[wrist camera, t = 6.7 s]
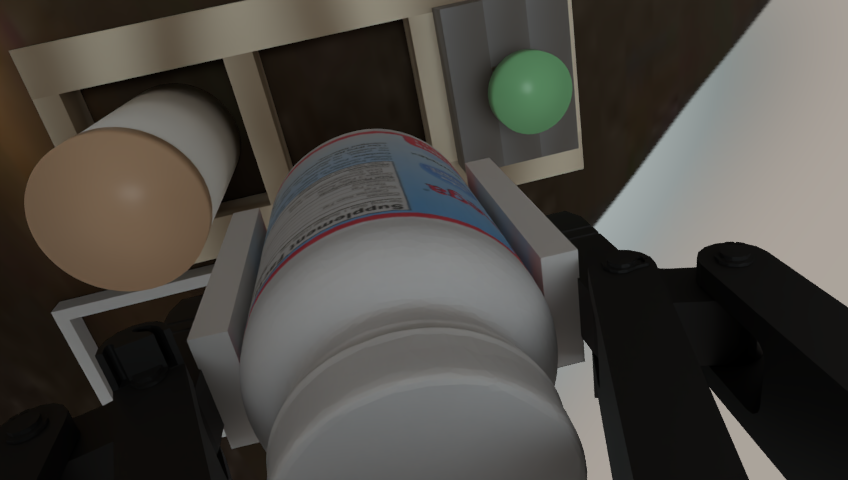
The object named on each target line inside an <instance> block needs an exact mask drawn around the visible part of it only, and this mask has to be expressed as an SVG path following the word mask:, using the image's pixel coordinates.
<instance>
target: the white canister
mask: <svg viewBox="0 0 848 480" xmlns="http://www.w3.org/2000/svg"><path fill="white" fill-rule="evenodd" d="M240 152H241V139H240V133H239V130H238V127H237V124H236V122H235V120H234V118H233V116H232V115H231V113H230V112H229V111H228V109H227V108H226V107H225V106H224V105H223V104H222V103H221V102H220V101H219V100H218V99H217V98H215V97H214V96H213V95H211V94H209V93H208V92H206V91H204V90H202V89H200V88H197V87H194V86H191V85H186V84H178V83H168V84H162V85H158V86H154V87H152V88H149V89H147V90H145V91H144V92H142V93H141V94H139V95H138V96H136V97H135V98H133V99H131V100H130V101H128V102H127V103H125V104H124V105H122V106H121V107H119V108H118V109H116V110H115V111H113V112H112V113H110V114H108V115H107V116H105V117H104V118H102V119H101V120H99V121H98V122H96V123H95V124H93V125H92V126H90V127H89V128H87V129H85V130H84V131H82V132H81V133H79V134H77V135H75V136H72V137H70V138H69V139H67V140H66V141H64V142H63V143H61V144H60V145H58V146H56V147H55V148H53V149H52V150H50V151H49V152H48V153H47V154H46V155H45V156H44V157H42V159H41V160H40V161H39V162H38V163H37V165H36V166H35V168H34V169H33V171H32V173H31V175H30V177H29V180H28V182H27V185H26V190H25V197H24V208H25V215H26V219H27V223H28V226H29V229H30V231H31V233H32V235H33V237H34V239H35V241H36V242H37V244H38V245H39V247H40V248H41V250H42V251H43V252H44V253H45V254H46V256H47V257H48V258H49V259H50V260H51V261H52V262H53V263H54V264H56V265H57V266H58V267H59V268H61V269H62V270H63V271H65V272H66V273H68V274H70V275H71V276H73V277H74V278H76V279H79V280H81V281H83V282H85V283H87V284H90V285H93V286H96V287H100V288H104V289H108V290H115V291H142V290H148V289H153V288H156V287H159V286H162V285H165V284H167V283H169V282H171V281H173V280H175V279H176V278H178V277H180V276H181V275H182V274H183V273H185V272H186V271H187V270H188V269H189V268H190V267H191V266H192V265H193V264H194V263H195V261H196V260H197V258H198V257H199V255H200V254H201V252H202V249H203V247H204V245H205V243H206V240H207V238H208V236H209V232H210V229H211V225H212V223H213V220H214V218H215V216H216V213H217V211H218V208H219V206H220V204H221V201H222V199H223V197H224V194H225V192H226V190H227V187H228V185H229V182H230V180H231V178H232V175H233V173H234V171H235V168H236V166H237V164H238V160H239V157H240Z"/></svg>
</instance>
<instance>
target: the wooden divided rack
mask: <svg viewBox="0 0 848 480" xmlns="http://www.w3.org/2000/svg"><path fill="white" fill-rule="evenodd" d="M399 19H403V24H404V30H405V35H406V40H407V45H408V50H409V55H410V60H411V66H412V71H413V76H414V81H415V86H416V91H417V97H418V102H419V107H420V112H421V117H422V122H423V128H424V133H425V138H426V143H428V144H429V145H431V146H432V147H433V148H435V149H436V150H437V151H439V152H440V153H441V154H442V155H443V156H444V157H445V158H446V159H447V160H448V161H449V162H450V163H451V165H452V166H453V167H454V168H455V169H456V171H457V172H458V173H459V175H460V176H461V178H462V179H463V180H464V182H465V183H466V184H467V186H468V182H467V175H466V168H465V163H467V162H472V161H477V160H481V159H486V158H490V159H491V160H492V161H493V162H494V163H495V164H496V165H497V166H498V167H499V168H500V169H501V170H502V171H503V172H504V173H505V174H506V175H507V177H508V178H509V179H510V180H511V181H512V182H513V183H514V184H515V185H519V184H523V183H527V182H531V181H535V180H539V179H543V178H547V177H552V176H556V175H560V174H564V173H568V172H572V171H576V170H580V169H584V164H583V151H582V137H581V124H580V110H579V97H578V83H577V69H576V56H575V42H574V29H573V15H572V2H571V0H244V1H239V2H234V3H229V4H225V5H220V6H215V7H211V8H206V9H201V10H197V11H192V12H187V13H182V14H178V15H173V16H168V17H164V18H159V19H154V20H149V21H145V22H140V23H135V24H131V25H126V26H121V27H117V28H112V29H107V30H102V31H98V32H93V33H88V34H84V35H79V36H74V37H69V38H65V39H60V40H55V41H51V42H46V43H41V44H37V45H32V46H28V47H23V48H19V49H15V50H10V51H9V53H10V55H11V57H12V59H13V61H14V63H15V65H16V67H17V69H18V72H19V74H20V76H21V78H22V80H23V82H24V84H25V86H26V88H27V90H28V92H29V94H30V96H31V98H32V101H33V103H34V105H35V107H36V109H37V111H38V113H39V115H40V117H41V119H42V121H43V123H44V125H45V127H46V130H47V132H48V134H49V136H50V138H51V140H52V142H53V144H54V146H55V147H56V146H58V145H60V144H61V143H63V142H64V141H66V140H67V139H69V138H70V137H72V136H75V135H77V134H79V133H81V132H82V131H84V130H85V129H87V128H89V127H90V126H92V125H93V124H95V123H94V121H93V119H92V116H91V114H90V112H89V110H88V107H87V105H86V103H85V101H84V98H83V96H82V94H81V92H80V89H84V88H89V87H93V86H98V85H103V84H107V83H112V82H116V81H121V80H125V79H130V78H135V77H139V76H144V75H148V74H153V73H157V72H162V71H166V70H171V69H176V68H180V67H185V66H189V65H194V64H198V63H203V62H208V61H212V60H217V59H221V58H223V61H224V64H225V67H226V70H227V73H228V76H229V79H230V82H231V85H232V88H233V91H234V94H235V97H236V100H237V103H238V106H239V109H240V112H241V116H242V119H243V122H244V125H245V128H246V131H247V134H248V137H249V140H250V143H251V146H252V149H253V152H254V155H255V158H256V161H257V164H258V167H259V170H260V173H261V176H262V179H263V182H264V185H265V188H266V191H267V192H265V193H261V194H256V195H252V196H248V197H244V198H240V199H235V200H231V201H227V202H223V203H221V204H220V206H219V208H218V211H217V213H216V216H215V218H214V220H213V223H212V225H211V229H210V232H209V236H208V238H207V240H206V243H205V245H204V247H203V249H202V252H201V254H200V255H199V257H198V258H197V260H196V261H195V263H199V262H204V261H208V260H212V259H216V258H217V256H218V254H219V251H220V248H221V245H222V243H223V240H224V237H225V235H226V232H227V229H228V226H229V224H230V221H231V218H232V215H233V213H237V212H241V211H246V210H251V209H255V208H260V211H261V214H262V217H263V220H264V223H265V227H266V230H267V229H268V225H269V220H270V216H271V211H272V208H273V204H274V201H275V198H276V195H277V193H278V190H279V188H280V186H281V184H282V182H283V181H284V179H285V177H286V176H287V174H288V173H289V172H290V170H291V169H292V168H293V165H292V162H291V158H290V155H289V152H288V148H287V145H286V142H285V138H284V135H283V132H282V129H281V125H280V122H279V119H278V115H277V112H276V109H275V105H274V102H273V99H272V95H271V92H270V89H269V86H268V82H267V79H266V76H265V72H264V69H263V66H262V62H261V59H260V56H259V53H258V50H262V49H267V48H271V47H276V46H281V45H285V44H290V43H294V42H299V41H303V40H308V39H312V38H317V37H322V36H326V35H331V34H335V33H340V32H344V31H349V30H354V29H358V28H363V27H367V26H372V25H376V24H381V23H385V22H390V21H395V20H399ZM523 49H537V50H540V51H544V52H547V53H550V54H552V55H554V56H556V57H557V58H559V59H560V60H561V61H562V62H563V63H564V64H565V66H566V67H567V69H568V71H569V73H570V76H571V79H572V97H571V101H570V104H569V107H568V109H567V111H566V112H565V114H564V116H563V117H562V118H561V119H560V120H559V121H558V122H557V123H556V124H555V125H554V126H552V127H551V128H549V129H548V130H546V131H543V132H540V133H537V134H522V133H518V132H515V131H513V130H511V129H510V128H508V127H507V126H506V125H504V124H503V123H502V122H501V121H499V120H498V119H497V118H496V116H495V115H494V113H493V112H492V110H491V107H490V105H489V100H488V86H489V81H490V78H491V76H492V73H493V72H494V70H495V68H496V67H497V66H498V64H499V63H500V62H501V61H502V60H503V59H504V58H505V57H507V56H508V55H510V54H511V53H514V52H516V51H519V50H523ZM195 263H194V264H195Z"/></svg>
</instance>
